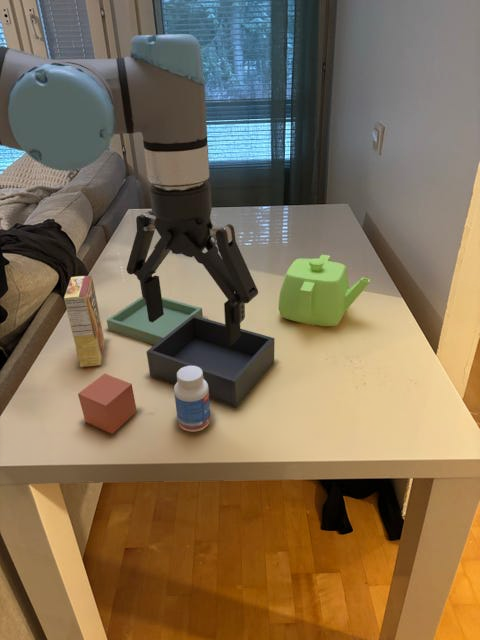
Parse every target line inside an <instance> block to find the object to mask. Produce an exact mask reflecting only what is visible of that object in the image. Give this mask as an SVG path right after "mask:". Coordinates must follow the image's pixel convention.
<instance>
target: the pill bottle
mask: <svg viewBox="0 0 480 640" xmlns="http://www.w3.org/2000/svg"><path fill="white" fill-rule="evenodd" d="M173 393H174V401H175V408H176V409H175V410H176V419H177V424H178V426H179V427H180V429H182V430H184V431H187V432H200V431H202V430H204V429H205V428H207V427H208V426H209V424H210V423H211V418H212V417H211V403H210V398H209V389H208V384H207V382H206V381H205V380H204V379H203V372H202V370H201V368H199V367H197V366H185V367H183V368H181V369H180V370H179V371H178V372H177V383H176V384H175V385H174V387H173Z"/></svg>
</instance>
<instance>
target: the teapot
mask: <svg viewBox="0 0 480 640" xmlns="http://www.w3.org/2000/svg"><path fill="white" fill-rule="evenodd" d="M370 281H371V279H370V278H366V277H363V276H361V278H360V279H358V281H356V282H355V283H354V284H353V285H351V287H350V282H349V277H348V271H347V267H346V265H345V264H343V263H340V262H337V261H331V255H328V254H320V256H319V257H318V258H296V259H295V260H294V261H293V262H292V264H291V265H290V266H289V267H288V269H287V271H286V273H285V275H284V278H283V281H282V284H281V286H280V287H281V288H280V291H279V297H278V311H279V313H280V316H281V317H282V318H284V319H286V320H289V321H293V322H296V323H301V324H305V325H313V326H321V327H335V326H337V325H339V323H340V322H341V320H342V318H343V316H344V314H345V313H346V310H348V309H349V308H350V307H351V306H352V305H353V303H354V302H355V301H356V300H357V298H359V296H360V295H361V294H362V292H363V291H364V290H365V289H366V288H367V287H368V285H369V284H370Z"/></svg>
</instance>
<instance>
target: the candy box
mask: <svg viewBox="0 0 480 640" xmlns="http://www.w3.org/2000/svg"><path fill="white" fill-rule="evenodd" d="M68 282H69V283H68V285H67V288H66V291H65V293H64V296H63V301H64V304H65V309H66V312H67V316H68V320H69V325H70V328H71V333H72V337H73V341H74V346H75V350H76V354H77V358H78V362H79V366H80V368H87V367H96V366H101V365H102V360H103V355H104V348H105V342H106V339H105V336H104V331H103V326H102V320H101V315H100V311H99V306H98V300H97V295H96V289H95V284H94V280H93V276H92V275H78V276H71V277H70V280H69V281H68Z"/></svg>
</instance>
